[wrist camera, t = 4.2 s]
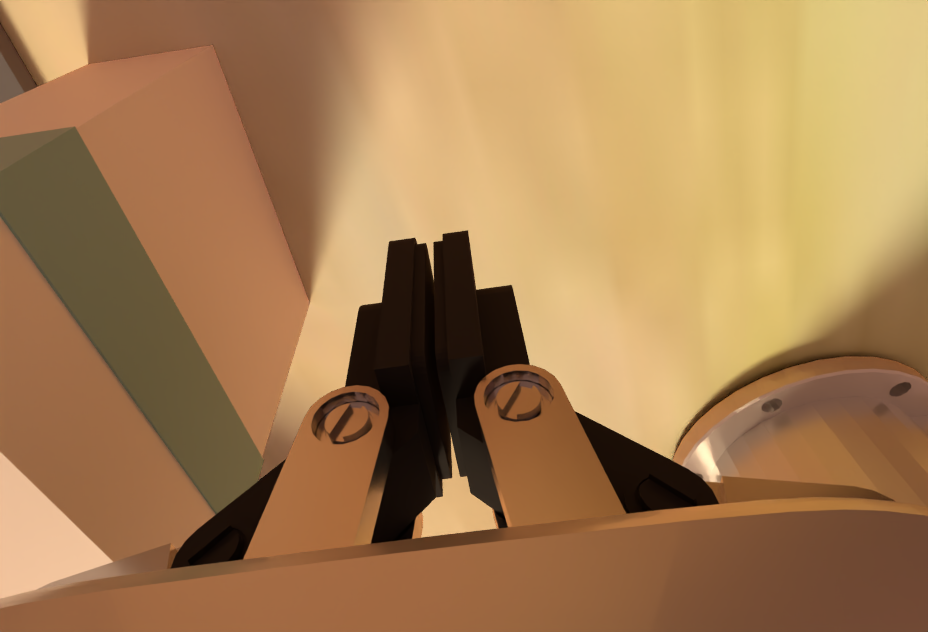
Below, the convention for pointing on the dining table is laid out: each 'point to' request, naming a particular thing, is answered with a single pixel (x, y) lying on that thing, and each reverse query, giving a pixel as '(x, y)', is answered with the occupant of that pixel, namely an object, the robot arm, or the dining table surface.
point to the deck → (133, 313)
